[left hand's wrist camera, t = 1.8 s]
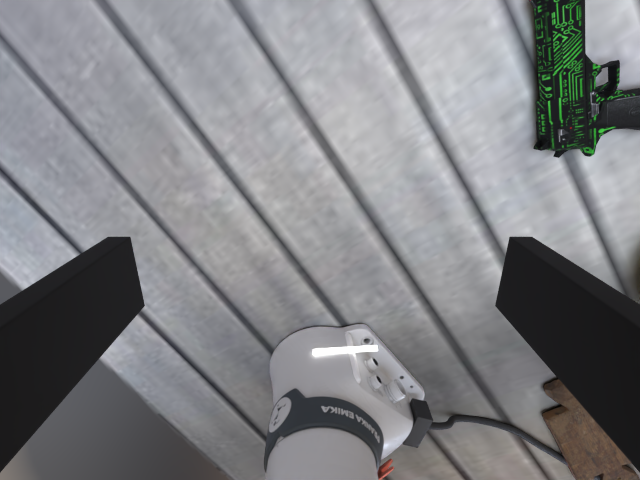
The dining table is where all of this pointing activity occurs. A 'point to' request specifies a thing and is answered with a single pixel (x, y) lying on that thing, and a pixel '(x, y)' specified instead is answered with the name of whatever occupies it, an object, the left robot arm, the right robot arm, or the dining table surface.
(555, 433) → the brown notched plank
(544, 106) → the handgun
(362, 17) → the dining table surface
